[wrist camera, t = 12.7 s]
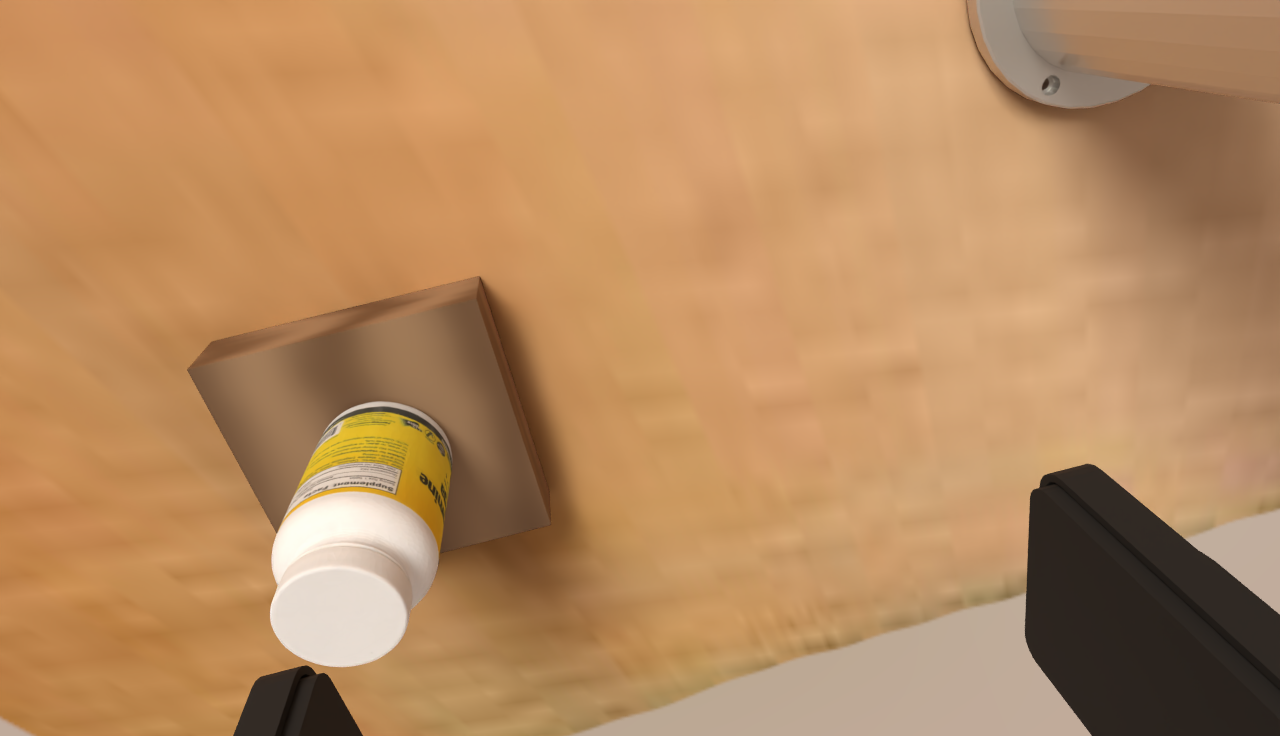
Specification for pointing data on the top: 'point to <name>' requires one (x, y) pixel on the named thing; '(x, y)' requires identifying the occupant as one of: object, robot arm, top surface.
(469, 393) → the walnut base
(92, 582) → the top surface
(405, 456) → the pill bottle
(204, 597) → the top surface
